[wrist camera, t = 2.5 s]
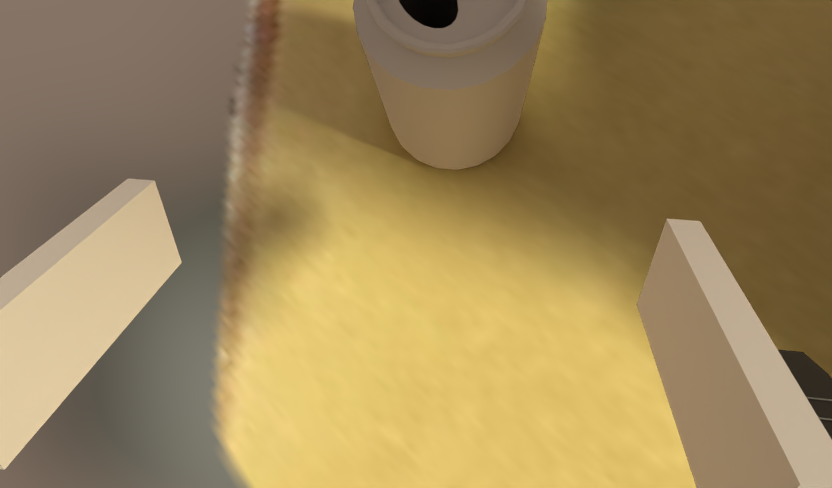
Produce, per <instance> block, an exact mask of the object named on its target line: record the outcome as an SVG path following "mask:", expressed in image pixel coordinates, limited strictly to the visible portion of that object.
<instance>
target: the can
mask: <svg viewBox="0 0 832 488" xmlns="http://www.w3.org/2000/svg"><path fill="white" fill-rule="evenodd" d="M353 10H354V16H355V22H356V27H357V33H358V36H359V39H360V42H361V45H362V47H363V50H364V53H365V56H366V58H367V61H368V64H369V67H370V70H371V72H372V75H373V78H374V81H375V83H376V86H377V89H378V92H379V95H380V97H381V100H382V103H383V106H384V108H385V111H386V114H387V117H388V120H389V122H390V125H391V128H392V130H393V132H394V134H395V136H396V137H397V139H398V141H399V143H400V144H401V146H402V147H403V148H404V149H405V150H406V151H407V152H409V153H410V154H411V155H412V156H413V157H414V158H415V159H416V160H418V161H421V162H423V163H425V164H428V165H430V166H432V167H435V168H442V169H452V170H458V169H463V168H468V167H473V166H478V165H479V164H481V163H483V162H485V161H487V160H489V159H490V158H492V157H494V156H496V155H497V154H498V153H499V152H500V151H501V150H502V149H503V148H504V146H505V145H506V144H507V143H508V142H509V141H510V140H511V138H512V136H513V134H514V131H515V129H516V127H517V125H518V123H519V120H520V116H521V112H522V108H523V104H524V100H525V97H526V93H527V89H528V85H529V81H530V77H531V73H532V70H533V66H534V62H535V58H536V54H537V50H538V46H539V43H540V39H541V35H542V31H543V27H544V23H545V19H546V10H547V0H354V4H353Z"/></svg>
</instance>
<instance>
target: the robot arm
mask: <svg viewBox="0 0 832 488" xmlns="http://www.w3.org/2000/svg"><path fill="white" fill-rule="evenodd" d="M181 263H182V262H181V259H180V256H179V253H178V250H177V247H176V244H175V241H174V238H173V235H172V232H171V229H170V226H169V223H168V220H167V217H166V214H165V211H164V208H163V205H162V201H161V198H160V196H159V192H158V190H157V187H156V184H155V181H153V180H140V179H127V180H126V181H124V182H123V183H122V184H120V185H119V186H118V187H117V188H115V189H114V190H113V191H112V192H110V193H109V194H108V195H106V196H105V197H104V198H102V199H101V200H100V201H99V202H97V203H96V204H95V205H93V206H92V207H91V208H89V209H88V210H87V211H86V212H84V213H83V214H82V215H81V216H79V217H78V218H77V219H75V220H74V221H73V222H72V223H70V224H69V225H68V226H66V227H65V228H64V229H62V230H61V231H60V232H59V233H57V234H56V235H55V236H53V237H52V238H51V239H49V240H48V241H47V242H46V243H44V244H43V245H42V246H40V247H39V248H38V249H37V250H35V251H34V252H33V253H31V254H30V255H29V256H28V257H26V258H25V259H24V260H22V261H21V262H20V263H18V265H16V266H15V267H13V268H12V269H11V270H10V271H8V272H7V273H6V274H4V275H3V276H1V277H0V469H5V468H6V467H7V466H8V464H10V462H11V461H12V460H13V459H14V458H15V457H16V455H17V454H18V453H19V452H20V451H21V450H22V448H23V447H24V446H25V445H26V444H27V443H28V441H29V440H30V439H31V438H32V437H33V436H34V434H35V433H36V432H37V431H38V430H39V429H40V427H41V426H42V425H43V424H44V423H45V422H46V420H47V419H48V418H49V417H50V416H51V415H52V413H53V412H54V411H55V410H56V409H57V408H58V406H59V405H60V404H61V403H62V402H63V401H64V399H65V398H66V397H67V396H68V395H69V394H70V392H71V391H72V390H73V389H74V388H75V386H76V385H77V384H78V383H79V382H80V381H81V380H82V378H83V377H84V376H85V375H86V374H87V373H88V371H89V370H90V369H91V368H92V367H93V366H94V364H95V363H96V362H97V361H98V360H99V358H100V357H101V356H102V355H103V354H104V353H105V352H106V350H107V349H108V348H109V347H110V346H111V345H112V343H113V342H114V341H115V340H116V339H117V337H118V336H119V335H120V334H121V333H122V332H123V330H124V329H125V328H126V327H127V326H128V325H129V323H130V322H131V321H132V320H133V319H134V318H135V316H136V315H137V314H138V313H139V311H140V310H141V309H142V308H143V307H144V306H145V305H146V304H147V302H148V301H149V300H150V299H151V298H152V297H153V295H154V294H155V293H156V292H157V291H158V289H159V288H160V287H161V286H162V285H163V284H164V283H165V281H166V280H167V279H168V278H169V277H170V276H171V274H172V273H173V272H174V271H175V270H176V269H177V267H178V266H179V265H180V264H181ZM637 307H638V310H639V313H640V316H641V319H642V322H643V325H644V328H645V331H646V334H647V337H648V340H649V343H650V347H651V350H652V353H653V356H654V359H655V362H656V365H657V368H658V371H659V374H660V377H661V380H662V383H663V386H664V389H665V392H666V395H667V398H668V402H669V405H670V408H671V411H672V414H673V417H674V420H675V423H676V426H677V429H678V432H679V435H680V438H681V441H682V444H683V447H684V450H685V453H686V457H687V460H688V463H689V466H690V469H691V472H692V475H693V478H694V481H695V484H696V487H697V488H832V379H831V377H830V376H829V374H827V373H826V372H825V371H824V370H823V369H822V368H820V367H819V366H818V365H817V364H816V363H815V362H814V361H812V360H811V359H810V358H809V357H808V356H807V355H805V354H804V353H803V352H796V351H786V350H777V348H776V346H775V345H774V343H773V341H772V340H771V338H770V336H769V335H768V333H767V331H766V330H765V328H764V326H763V325H762V323H761V321H760V320H759V318H758V316H757V315H756V313H755V311H754V310H753V308H752V306H751V305H750V303H749V301H748V300H747V298H746V296H745V295H744V293H743V291H742V290H741V288H740V286H739V285H738V283H737V281H736V280H735V278H734V276H733V275H732V273H731V271H730V270H729V268H728V266H727V265H726V263H725V261H724V260H723V258H722V256H721V255H720V253H719V251H718V250H717V248H716V246H715V245H714V243H713V241H712V240H711V238H710V236H709V235H708V233H707V231H706V230H705V228H704V226H703V225H702V223H701V221H693V220H679V219H666V222H665V225H664V227H663V230H662V233H661V236H660V239H659V242H658V245H657V248H656V251H655V253H654V256H653V259H652V262H651V265H650V268H649V271H648V274H647V277H646V279H645V282H644V285H643V288H642V291H641V294H640V297H639V300H638V302H637Z"/></svg>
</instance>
